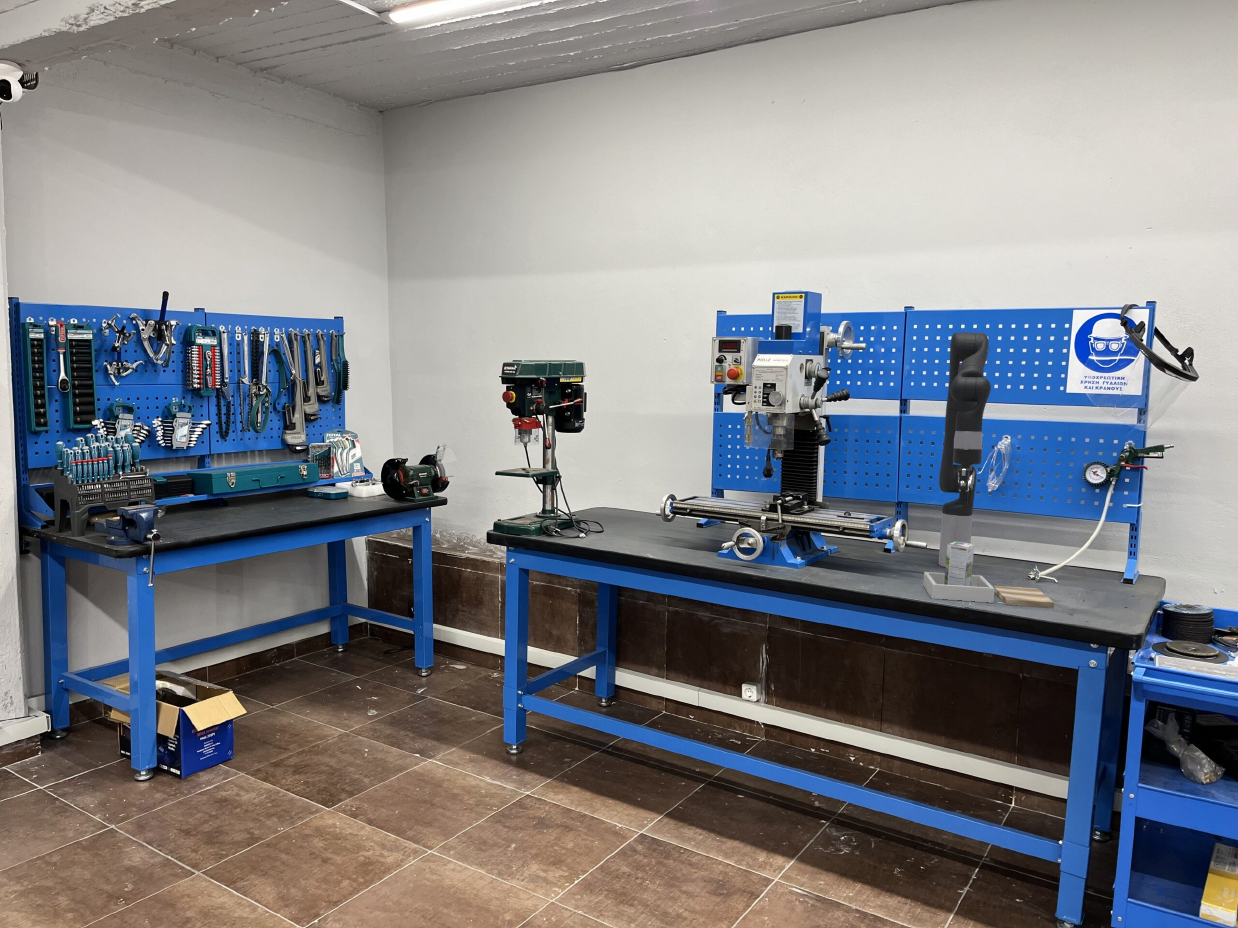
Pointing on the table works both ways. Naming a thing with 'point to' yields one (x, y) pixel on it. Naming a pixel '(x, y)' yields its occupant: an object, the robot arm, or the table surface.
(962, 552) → the syrup box
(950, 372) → the robot arm
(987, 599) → the parts tray
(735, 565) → the table surface
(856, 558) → the table surface
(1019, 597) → the board
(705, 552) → the table surface
